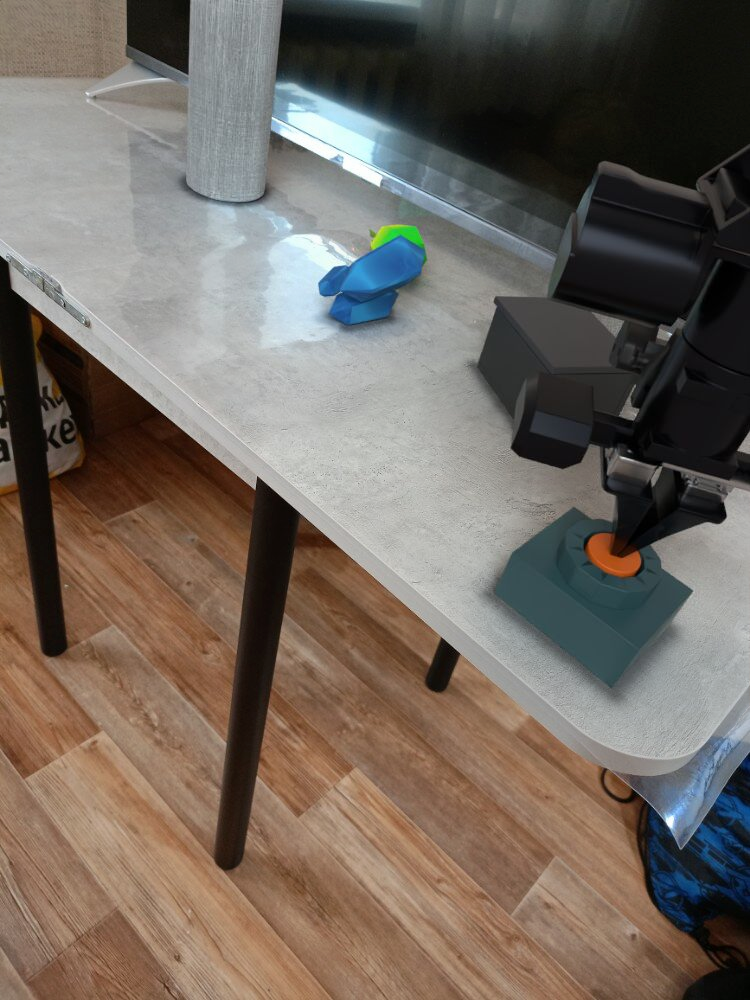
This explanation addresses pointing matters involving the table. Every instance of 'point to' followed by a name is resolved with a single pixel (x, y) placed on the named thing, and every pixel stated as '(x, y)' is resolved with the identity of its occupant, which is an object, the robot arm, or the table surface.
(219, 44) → the grey fabric cylinder
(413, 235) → the apple
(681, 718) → the table surface
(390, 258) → the crystal
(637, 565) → the button
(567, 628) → the control block
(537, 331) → the lid
